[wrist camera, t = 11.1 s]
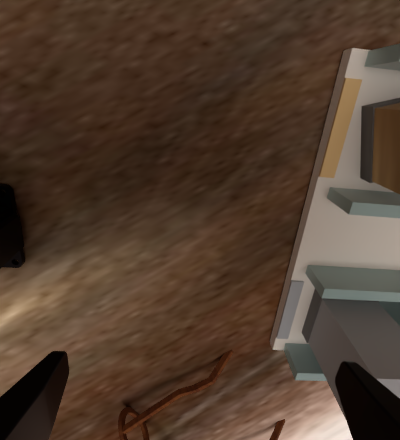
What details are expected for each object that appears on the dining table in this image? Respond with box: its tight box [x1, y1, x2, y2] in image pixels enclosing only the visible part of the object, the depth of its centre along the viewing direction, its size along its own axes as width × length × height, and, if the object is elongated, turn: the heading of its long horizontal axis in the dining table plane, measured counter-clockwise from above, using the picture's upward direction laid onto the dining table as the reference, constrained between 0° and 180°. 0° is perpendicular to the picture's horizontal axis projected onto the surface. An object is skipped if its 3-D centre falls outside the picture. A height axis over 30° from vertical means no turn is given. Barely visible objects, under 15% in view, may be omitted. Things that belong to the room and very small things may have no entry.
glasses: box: [118, 350, 285, 440], centre depth 29 cm, size 13×13×5 cm
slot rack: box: [270, 44, 400, 381], centre depth 21 cm, size 9×24×4 cm, turn 175°
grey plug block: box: [302, 289, 400, 418], centre depth 21 cm, size 5×5×8 cm
